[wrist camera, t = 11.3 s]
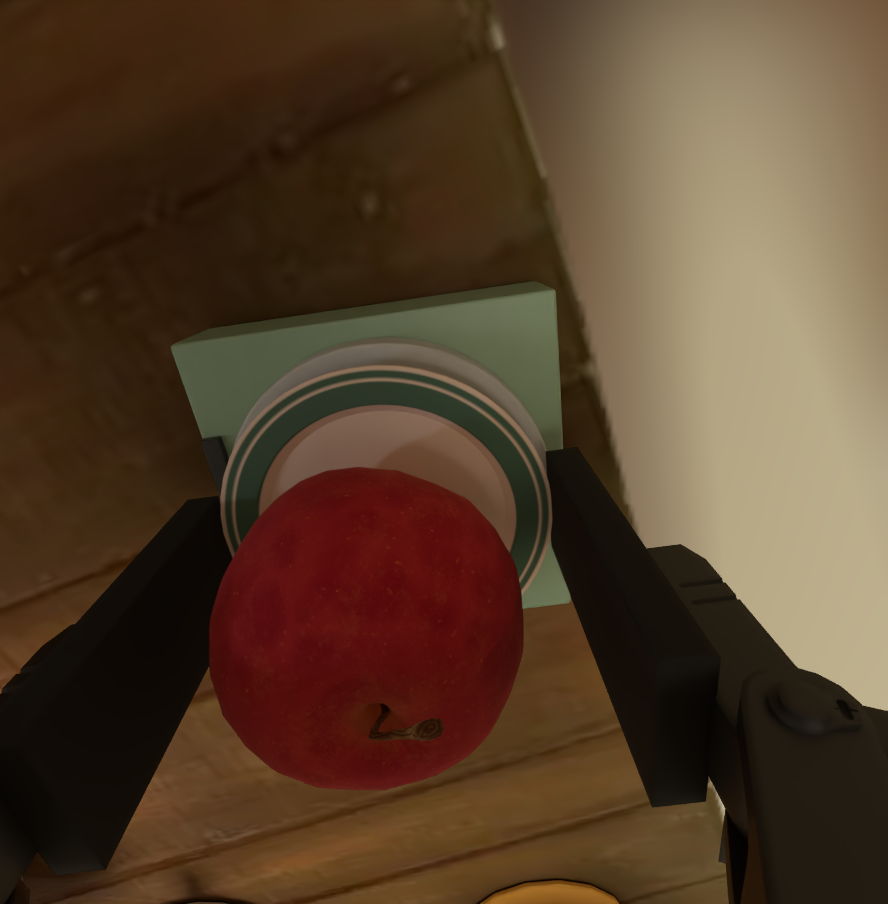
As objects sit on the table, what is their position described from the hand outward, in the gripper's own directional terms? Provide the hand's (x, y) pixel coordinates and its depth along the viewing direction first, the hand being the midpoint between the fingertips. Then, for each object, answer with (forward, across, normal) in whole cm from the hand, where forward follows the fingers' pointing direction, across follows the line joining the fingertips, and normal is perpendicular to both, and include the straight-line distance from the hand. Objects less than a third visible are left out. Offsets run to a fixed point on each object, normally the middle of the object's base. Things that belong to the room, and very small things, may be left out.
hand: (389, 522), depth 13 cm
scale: (+4, 0, 0) cm, 4 cm away
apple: (0, 0, 0) cm, 0 cm away
